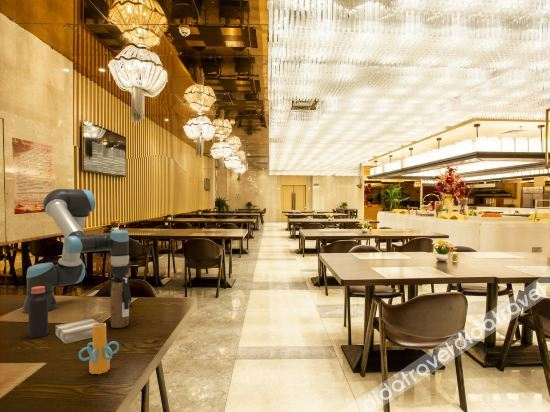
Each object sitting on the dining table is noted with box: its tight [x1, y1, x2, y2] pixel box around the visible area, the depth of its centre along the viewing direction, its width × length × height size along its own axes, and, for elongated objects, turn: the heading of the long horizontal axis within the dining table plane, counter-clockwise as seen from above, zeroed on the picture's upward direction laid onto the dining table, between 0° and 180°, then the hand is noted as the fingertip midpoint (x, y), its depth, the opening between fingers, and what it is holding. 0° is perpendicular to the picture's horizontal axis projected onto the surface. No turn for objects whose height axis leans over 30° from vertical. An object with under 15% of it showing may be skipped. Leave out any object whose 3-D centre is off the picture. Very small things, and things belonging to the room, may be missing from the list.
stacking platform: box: [55, 317, 99, 345], centre depth 153 cm, size 14×14×4 cm
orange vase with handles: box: [78, 322, 120, 375], centre depth 120 cm, size 12×10×15 cm
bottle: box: [28, 286, 49, 339], centre depth 153 cm, size 7×7×20 cm
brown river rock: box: [109, 281, 130, 329], centre depth 165 cm, size 11×8×20 cm
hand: (120, 313), depth 165 cm, fingers closed on brown river rock, 11 cm apart
